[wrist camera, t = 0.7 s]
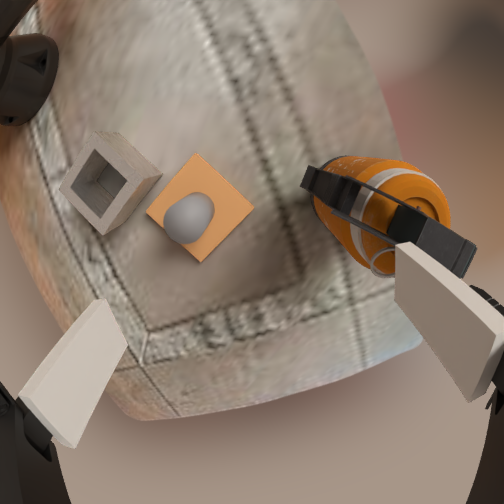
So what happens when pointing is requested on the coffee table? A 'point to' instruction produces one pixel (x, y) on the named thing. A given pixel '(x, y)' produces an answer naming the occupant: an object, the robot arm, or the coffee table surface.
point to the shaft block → (199, 207)
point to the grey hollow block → (94, 195)
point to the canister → (385, 212)
